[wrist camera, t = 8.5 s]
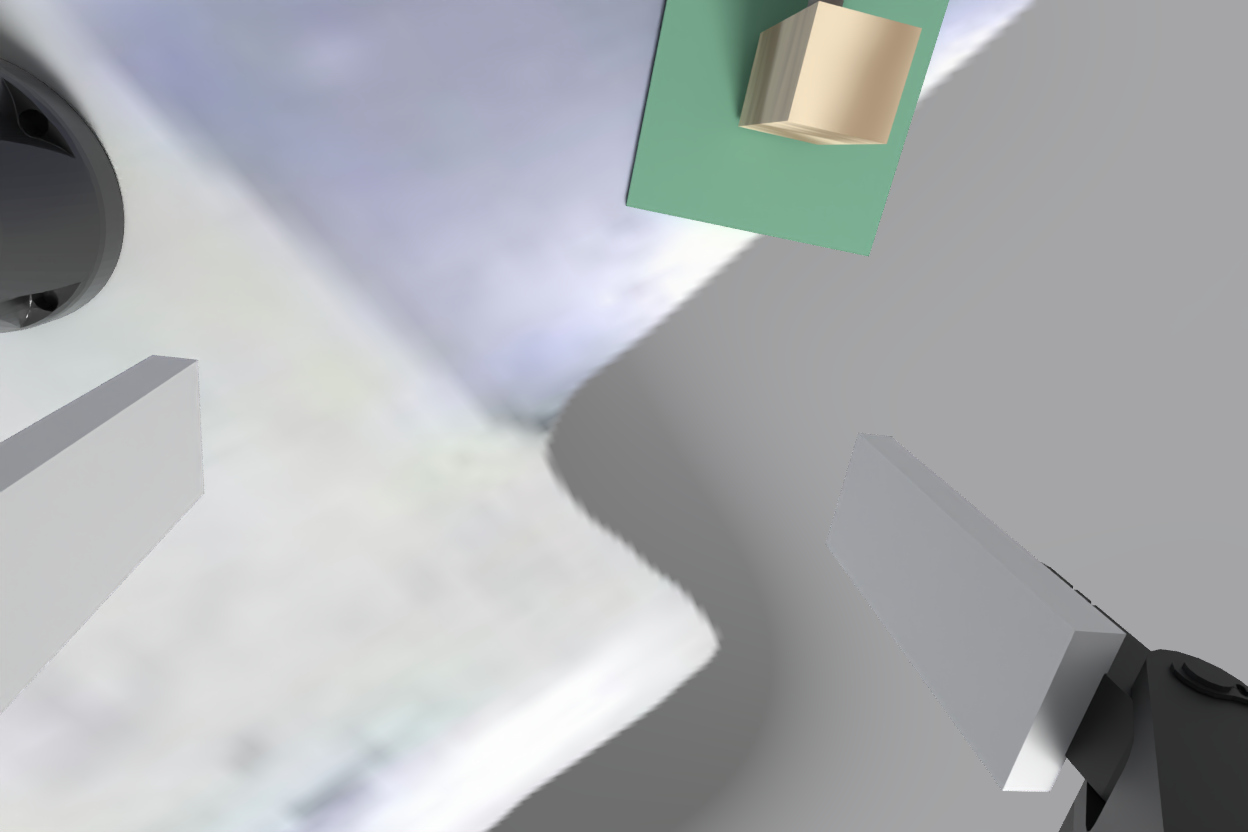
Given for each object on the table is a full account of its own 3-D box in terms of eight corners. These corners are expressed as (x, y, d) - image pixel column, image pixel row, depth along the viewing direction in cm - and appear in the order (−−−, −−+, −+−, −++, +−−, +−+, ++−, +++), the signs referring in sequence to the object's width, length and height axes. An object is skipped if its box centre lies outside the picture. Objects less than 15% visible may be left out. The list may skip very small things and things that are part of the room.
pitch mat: (625, 205, 44) (626, 205, 44) (731, -330, 35) (733, -335, 35) (866, 255, 46) (868, 256, 46) (1018, -234, 38) (1023, -238, 38)
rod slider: (721, 122, 42) (767, 116, 33) (780, -128, 38) (849, -212, 29) (832, 148, 43) (905, 148, 34) (900, -92, 39) (1003, -163, 30)
